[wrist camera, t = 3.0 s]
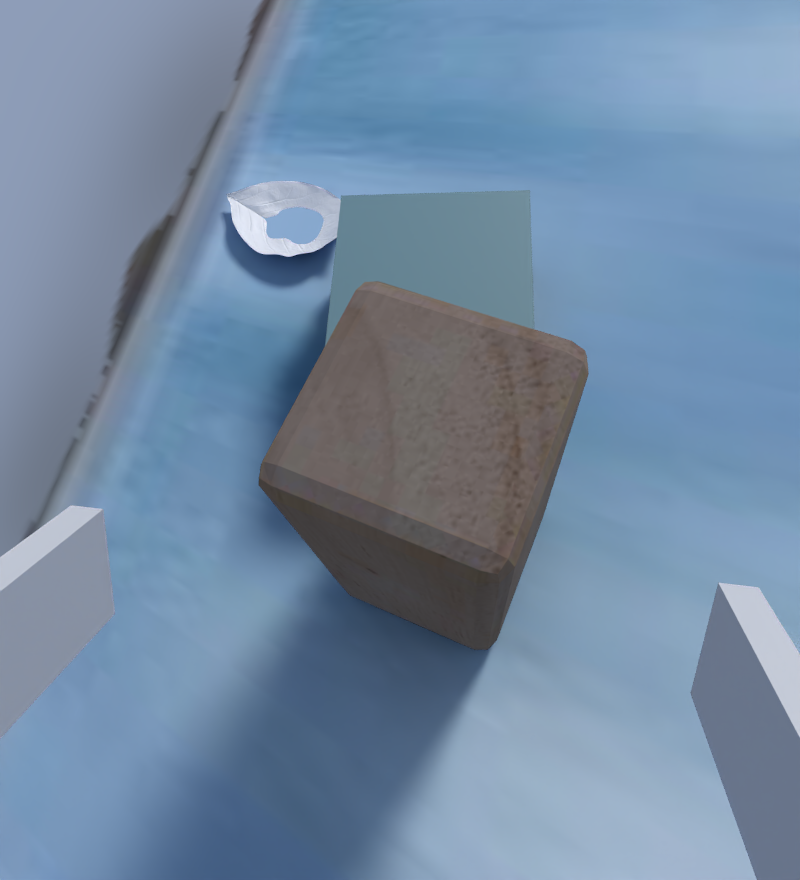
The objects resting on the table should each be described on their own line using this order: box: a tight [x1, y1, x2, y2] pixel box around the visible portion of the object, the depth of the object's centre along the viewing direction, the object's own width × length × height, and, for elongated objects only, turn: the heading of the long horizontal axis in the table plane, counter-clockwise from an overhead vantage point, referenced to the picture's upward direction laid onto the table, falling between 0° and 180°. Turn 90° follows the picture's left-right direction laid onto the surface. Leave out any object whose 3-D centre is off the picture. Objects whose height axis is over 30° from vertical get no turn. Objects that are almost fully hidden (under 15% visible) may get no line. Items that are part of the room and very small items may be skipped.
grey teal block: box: [325, 190, 534, 346], centre depth 43 cm, size 12×12×4 cm
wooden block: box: [259, 281, 588, 650], centre depth 34 cm, size 10×10×20 cm
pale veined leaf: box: [226, 181, 341, 257], centre depth 54 cm, size 8×12×2 cm, turn 60°
